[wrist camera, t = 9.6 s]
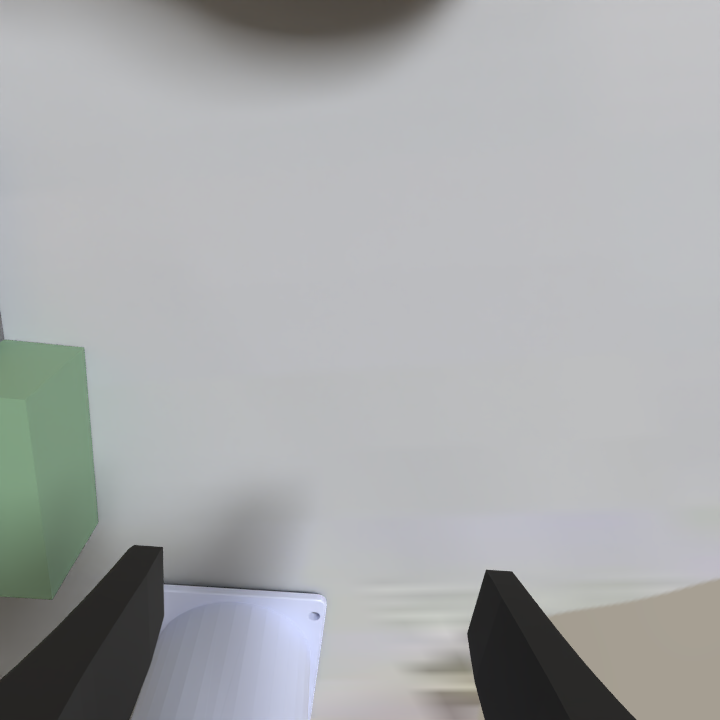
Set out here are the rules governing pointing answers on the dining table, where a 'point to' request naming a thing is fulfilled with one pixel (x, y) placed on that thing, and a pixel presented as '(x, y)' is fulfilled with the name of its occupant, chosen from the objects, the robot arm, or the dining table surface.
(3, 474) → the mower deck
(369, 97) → the dining table surface
